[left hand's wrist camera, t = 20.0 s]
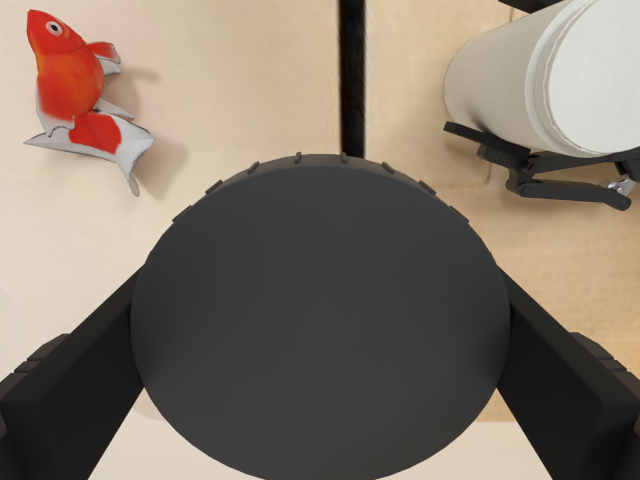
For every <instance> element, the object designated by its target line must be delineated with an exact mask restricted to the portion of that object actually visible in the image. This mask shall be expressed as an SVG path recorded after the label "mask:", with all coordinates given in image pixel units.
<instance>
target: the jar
mask: <svg viewBox="0 0 640 480" xmlns="http://www.w3.org/2000/svg"><path fill="white" fill-rule="evenodd" d="M444 101H445V105H446V108H447V111H448V113H449V115H450V117H451V118H452V119H453V121H454V122H455V123H458V124H461V125H464V126H467V127H470V128H472V129H475V130H478V131H481V132H484V133H486V134H489V135H492V136H495V137H498V138H500V139H503V140H506V141H509V142H512V143H516V144H520V145H525V146H529V147H534V148H538V149H543V150H547V151H551V152H556V153H560V154H565V155H569V156H575V157H586V158H590V157H600V156H604V155H609V154H612V153H615V152H621V151H626V150H630V149H633V148H635V147H638V146H640V0H564V1H561V2H559V3H557V4H554V5H552V6H549V7H547V8H544V9H542V10H539V11H537V12H534V13H532V14H529V15H527V16H525V17H522V18H520V19H517V20H515V21H512V22H510V23H507V24H505V25H502V26H500V27H497V28H495V29H493V30H490V31H488V32H485V33H483V34H480V35H478V36H476V37H475V38H473V39H471V40H470V41H469V42H467V43H466V44H465V45H464V46H463V47H462V48H461V49H460V50H459V51H458V52H457V54H456V55H455V57H454V58H453V59H452V61H451V63H450V65H449V67H448V70H447V73H446V76H445V80H444Z"/></svg>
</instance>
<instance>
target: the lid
mask: <svg viewBox="0 0 640 480" xmlns="http://www.w3.org/2000/svg"><path fill="white" fill-rule="evenodd" d="M205 193H206V195H205V196H204V197H202V198H201V199H200V200H199V201H197V202H196V203H195V204H194V205H193V206H191V205H190V206H188V207H187V208H186V209H185V210H183V211H182V212H181V213H180V214H179V215H177V216H176V217H175V218H174V219H173V220H172V221H173V222H174V223H173V224H172V225H171V226H170V227H169V228H168V229H167V230H166V232H165V233H164V234H163V235H162V236H161V238H160V239H159V241H158V242H157V243H156V245H155V246H154V248H153V249H152V251H150V253H149V255H148V257H147V260H146V262H145V264H144V266H143V268H142V270H141V272H140V274H139V277H138V280H137V284H136V287H135V291H134V294H133V298H132V306H131V314H130V339H131V345H132V350H133V355H134V360H135V364H136V367H137V370H138V373H139V376H140V379H141V381H142V383H143V385H144V387H145V389H146V391H147V393H148V395H149V397H150V399H151V400H152V402H153V403H154V405H155V406H156V407H157V409H158V410H159V412H160V413H161V414H162V416H163V417H164V418H165V419H166V420H167V421H168V423H169V424H170V425H171V426H172V427H173V428H174V429H175V430H176V431H177V432H178V433H179V434H180V435H181V436H183V437H184V438H185V439H186V440H187V441H188V442H189V443H191V444H192V445H193V446H195V447H196V448H198V449H199V450H200V451H202V452H203V453H205V454H206V455H208V456H209V457H211V458H213V459H215V460H217V461H219V462H220V463H222V464H224V465H226V466H228V467H230V468H233V469H235V470H238V471H240V472H243V473H245V474H248V475H251V476H255V477H258V478H261V479H265V480H376V479H379V478H383V477H387V476H390V475H393V474H395V473H398V472H400V471H403V470H406V469H408V468H411V467H412V466H414V465H416V464H418V463H420V462H422V461H424V460H426V459H428V458H430V457H431V456H433V455H434V454H436V453H437V452H439V451H440V450H442V449H443V448H445V447H446V446H447V445H449V444H450V443H451V442H452V441H454V440H455V439H456V438H457V437H458V436H460V435H461V434H462V433H463V432H464V431H465V430H466V429H467V428H468V427H469V426H470V425H471V423H472V422H473V421H474V420H475V419H476V418H477V417H478V415H479V414H480V413H481V411H482V410H483V409H484V407H485V406H486V405H487V403H488V401H489V400H490V398H491V396H492V394H493V392H494V391H495V389H496V387H497V385H498V383H499V380H500V378H501V375H502V372H503V370H504V367H505V362H506V357H507V353H508V348H509V343H510V332H511V318H510V307H509V300H508V296H507V292H506V288H505V284H504V280H503V278H502V276H501V273H500V271H499V269H498V266H497V264H496V262H495V260H494V258H493V256H492V254H491V252H490V251H489V250H488V248H487V247H486V245H485V244H484V242H483V241H482V239H481V238H480V237H479V235H478V234H477V233H476V232H475V231H474V230H473V229H472V228H471V226H470V225H469V224H468V222H469V220H468V219H467V218H466V217H464V216H463V215H462V214H461V213H459V212H458V211H457V210H456V209H455V208H453V207H452V206H450V207H449V206H448V205H447V204H445V203H444V202H443V201H442V200H441V199H439V198H438V197H437V196H436V195H435V194H436V192H435V191H434V190H433V189H432V188H430V187H429V186H428V185H427V184H425V183H424V182H423V181H421V180H420V181H419V183H418V182H417V181H415V180H413V179H412V178H410V177H409V176H407V175H405V174H403V173H401V172H399V171H396V170H394V169H392V168H391V167H390V166H389V165H388V164H387V163H386V162H383V163H382V164H379V163H375V162H372V161H368V160H365V159H361V158H356V157H349V156H346V155H345V153H344V152H341V154H340V155H336V154H307V155H301V152H297V154H296V156H290V157H284V158H280V159H276V160H272V161H269V162H265V163H261V164H259V161H258V162H255V163H254V164H253V165H252V166H251V167H250V168H249V169H247V170H244V171H242V172H239V173H237V174H236V175H234V176H232V177H231V178H229V179H227V180H226V181H224V182H222V180H219V181H218V182H217V183H215V184H214V185H213V186H212V187H210V188H209V189H208V190H207V191H205Z"/></svg>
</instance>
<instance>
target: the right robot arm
mask: <svg viewBox="0 0 640 480" xmlns="http://www.w3.org/2000/svg"><path fill="white" fill-rule="evenodd" d="M498 1H499V2H502V3H504V4H507V5H509V6H512V7H514V8H517V9H519V10H522V11H524V12H527V13H529V14H532V13H534V12H537V11H539V10H542V9H544V8H547V7H549V6H552V5H554V4H557V3H559V2H561V1H564V0H498ZM443 130H444V131H447V132H450V133H453V134H456V135H458V136H461V137H464V138H467V139H470V140H473V141H475V142H478V143H481V146H480V148H479V150H478V152H477V155H478V156H479V157H480V158H481V159H484V160H487V161H489V162H492V163H495V164H498V165H501V166H504V167H506V168H507V169H508V170H509V172H510V176H509V179H508V180H507V182H506V189H508V190H509V191H511V192H513V193H515V194H518V195H520V196H522V197H530V198H544V199H559V200H573V201H588V202H599V203H601V204H604V205H606V206H609V207H612V208H615V209H617V210H620V211H624V210H626V209H628V208H629V207H630V205H631V199H630V198H628V197H627V196H628V195H629V193H630V192H631V191H632V189H633V188H634V187H635V185H636V184H637V183H638V182H640V146H638V147H635V148H633V149H630V150H626V151H621V152H615V153H612V154H609V155H604V156H600V157H590V158H586V157H575V156H569V155H565V154H560V153H556V152H551V151H542V152H536V153H530V151H531V149H528V148H526V147H523V146H520V145H517V144H514V143H512V142H509V141H506V140H503V139H500V138H498V137H495V136H492V135H489V134H486V133H484V132H481V131H478V130H475V129H472V128H470V127H467V126H464V125H461V124H458V123H453V122H448V121H447V122H446V124H445V127H444V129H443ZM529 153H530V154H529ZM602 162H614V164H615V166H616V168H617V171H618V173H619V175H620V177H619V178H618V179H616V180H606V181H604V182H600V183H599V184H598V185H594V184H591V183H585V182H571V181H557V180H543V179H532V176H534V175H533V174H536V173H542V172H548V171H554V170H560V169H566V168H572V167H578V166H584V165H590V164H596V163H602Z"/></svg>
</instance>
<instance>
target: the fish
mask: <svg viewBox="0 0 640 480" xmlns="http://www.w3.org/2000/svg"><path fill="white" fill-rule="evenodd" d="M27 36H28V40H29V43H30V45H31V48H32V50H33V51H34V53H35V56H36V61H37V68H38V76H37V83H36V111H37V114H38V116H39V119H40V122H41V124H42V126H43V128H44V130H45V133H42V134H40V135H37V136H35V137H33V138H31V139H29V140H27V141H25V142H24V143H23V144H28V145H33V146H38V147H43V148H48V149H53V150H59V151H65V152H71V153H77V154H83V155H88V156H93V157H98V158H103V159H106V160H109V161H112V162H115V163H118V165H119V166H120V168H121V170H122V172H123V174H124V176H125V178H126V180H127V182H128V183H129V185H130V187H131V189H132V192H133V194H134V195H136V196H138V197H139V192H140V191H139V188H138V185H137V183H136V180H135V178H134V177H133V176H132V175H131V172H132V170H133V168H134V166H135V165H136V163H137V161H138V159H139V158H140V157H141V156H142V155H143V154H144V153H145V152H146V150H147V149H148V148H149V147H150V145H151V144H152V143H153V142H154V140H155V138H154V137H153V136H152V135H151V134H150V133H149V132H148V131H147V130H146V129H144V128H141V127H139V126H137V125H135V124H132V123H130V122H128V121H126V120H123V119H121V118H119V117H116V116H114V115H120V116H125V117H129V118H134V116H132V115H130V114H129V113H127V112H126V111H124V110H123V109H121V108H119V107H117V106H115V105H113V104H111V103H109V102H107V101H105V100H104V99H102V98H101V97H100V96H101V94H102V91H103V86H104V75H109V74H114V73H120V68H119V67H117V66H116V65H115V64H113V63H112V62H110V61H109V60H111V61H114V62H116V63H118V64H120V57H119V55H118V54H117V52H116V51H115V48H114V45H113V44H111V43H106V42H94V43H89V44H87V43H86V42H85V41H84V40H83V39H82V37H80V36H79V35H78V34H77V33H76V32H74V31H73V30H72V29H71V28H70V27H69V26H68V25H66V24H65V23H63V22H62V21H60V20H59V19H57V18H56V17H54V16H52V15H50V14H48V13H45V12H42V11H37V10H31V9H30V11H28V18H27ZM94 106H95V107H96V108H97V109H98V110H97V109H93V107H94ZM111 114H114V115H111ZM57 127H59V128H57ZM55 128H57V129H55Z"/></svg>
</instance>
